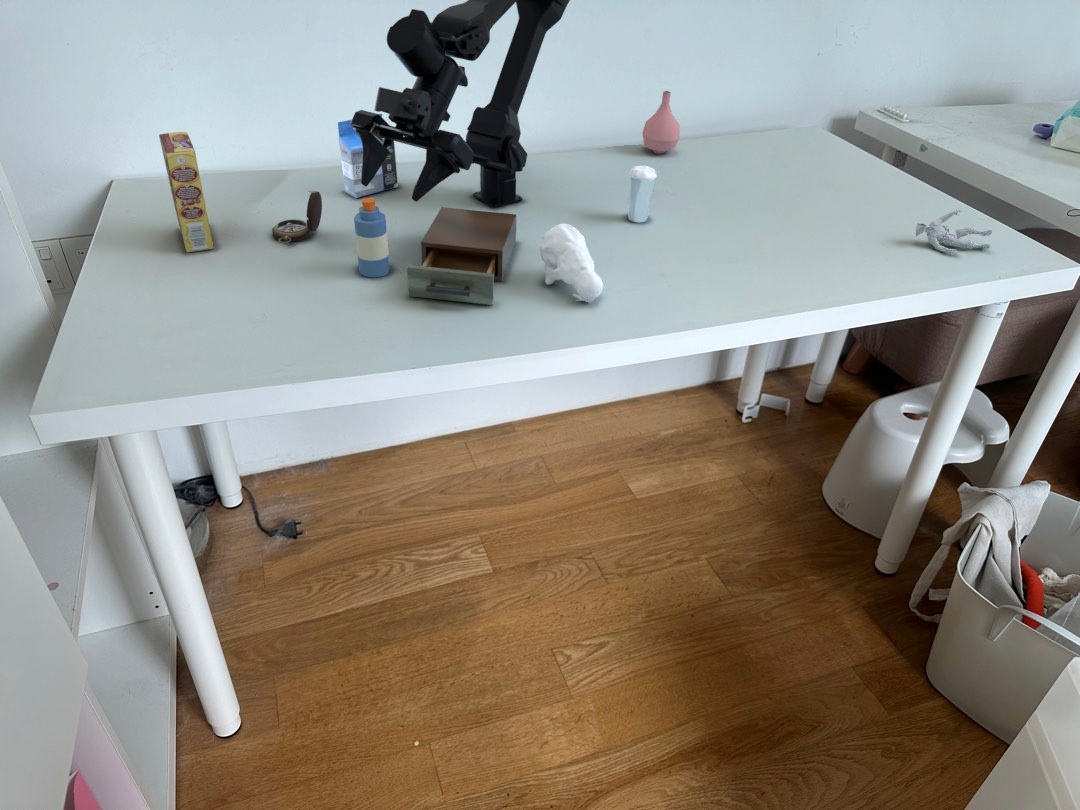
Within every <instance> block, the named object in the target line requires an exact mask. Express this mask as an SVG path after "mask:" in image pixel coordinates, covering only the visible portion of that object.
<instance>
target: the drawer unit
mask: <svg viewBox="0 0 1080 810" xmlns="http://www.w3.org/2000/svg"><path fill="white" fill-rule="evenodd" d="M516 244H517V214H515V213H507V212H505V213H504V212H496V211H485V210H475V209H465V208H455V207H443V206H441V208H440V209H439V211H438V213H437V214H436V216H435V217H434V219H433V221H432V223H431V225H430V226H429V227H428V230H427V231H426V233H425V235H424V236H423V238H422V240H421V242H420V252H421V266H422V265H423V263H424V262H425V260H426V258H427V256H428V254H429V253H430V251H431V249H432V248H442V249H451V250H461V251H471V252H481V253H490V254H498V267H497V270H496V272H495V275H494V282H503V280H504V277H505V274H506V271H507V269H508V266H509V263H510V260H511V258H512V255H513V252H514V250H515V247H516Z"/></svg>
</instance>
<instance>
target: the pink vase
mask: <svg viewBox="0 0 1080 810" xmlns="http://www.w3.org/2000/svg"><path fill="white" fill-rule="evenodd" d="M671 94H672V91H670V90H663V91H662V98H661V104H660V105H659V107H658V108H657V110H656V111H655V113H654V114H652V116H651V117H650V118H649V119H647V120H646V121H645V123H644V127H643V129H642V140H643V146H644V147H645V148H647V149H649V150H652V151H653V153H654V154H658V155H659V154H660V155H662V154H665V152H669V151H673V150H675V149H676V147H677V145H678V144H679V143H678V142H679V140H680V138H681V129H680V127H681V126H680V124H679V122H678V121H677V119H676V118H675V116H674V115H673V113H672V112H673V111H672V109H671V105H670V101H671Z"/></svg>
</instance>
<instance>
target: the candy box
mask: <svg viewBox="0 0 1080 810" xmlns="http://www.w3.org/2000/svg"><path fill="white" fill-rule="evenodd" d="M158 137H159V142H160V146H161V151H162V155H163V160H164V165H165V170H166V173H167V178H168V182H169V183H168V184H169V187H170V191H171V196H172V201H173V205H174V209H175V215H176V218H177V222H178V226H179V231H180V234H181V237H182V241H183V245H184V249H185V252H187V253H193V252H201V251H208V250H214V243H213V237H212V233H211V232H212V231H211V227H210V222H209V217H208V211H207V207H206V201H205V200H206V199H205V196H204V190H203V186H202V185H203V184H202V181H201V180H202V179H201V176H200V170H199V164H198V160H197V154H196V150H195V148H194V145H193V143H192V140H191V138H190V136H189V132H187V131H174V132H167V133H160V134H158Z"/></svg>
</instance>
